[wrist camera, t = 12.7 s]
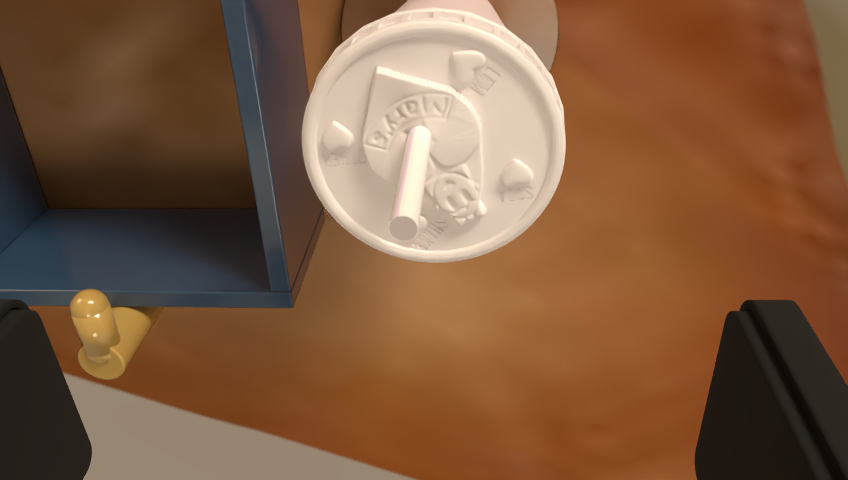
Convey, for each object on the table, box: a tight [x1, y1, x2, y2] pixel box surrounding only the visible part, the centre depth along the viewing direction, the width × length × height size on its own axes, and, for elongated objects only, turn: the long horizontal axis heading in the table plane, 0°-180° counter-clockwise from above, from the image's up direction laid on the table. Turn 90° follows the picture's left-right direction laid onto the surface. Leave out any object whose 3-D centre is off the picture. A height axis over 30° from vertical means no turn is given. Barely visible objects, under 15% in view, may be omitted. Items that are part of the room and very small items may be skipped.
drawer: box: [0, 0, 324, 380], centre depth 24 cm, size 16×12×8 cm
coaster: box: [341, 0, 559, 73], centre depth 26 cm, size 8×8×1 cm
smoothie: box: [302, 0, 566, 263], centre depth 20 cm, size 6×6×14 cm
